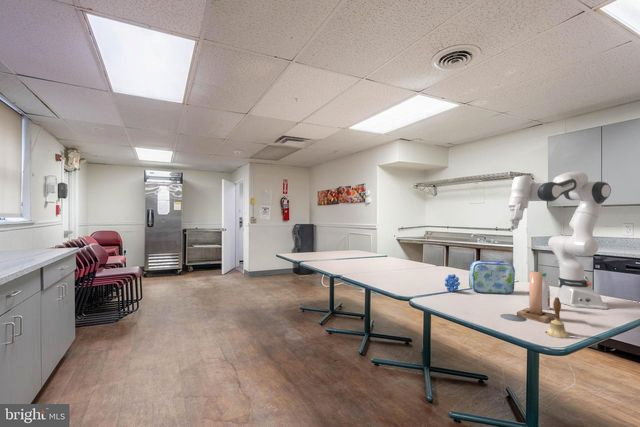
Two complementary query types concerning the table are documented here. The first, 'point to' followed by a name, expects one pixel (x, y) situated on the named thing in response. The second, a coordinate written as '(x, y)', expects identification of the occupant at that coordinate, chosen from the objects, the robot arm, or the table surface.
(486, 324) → the table surface
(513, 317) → the disc
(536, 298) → the tall peach cylinder
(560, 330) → the hand bell
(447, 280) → the grapes
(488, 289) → the lunch box
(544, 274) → the milk bottle
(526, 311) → the pocket block
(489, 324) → the table surface
